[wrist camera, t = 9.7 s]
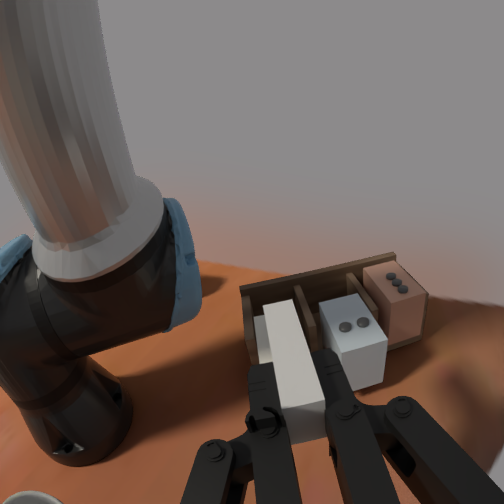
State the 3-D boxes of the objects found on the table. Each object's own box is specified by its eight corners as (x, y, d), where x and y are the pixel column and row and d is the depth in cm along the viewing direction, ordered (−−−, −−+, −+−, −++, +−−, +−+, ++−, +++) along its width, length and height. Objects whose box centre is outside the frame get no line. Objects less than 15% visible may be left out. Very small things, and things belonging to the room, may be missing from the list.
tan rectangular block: (419, 334, 31) (426, 290, 28) (387, 345, 31) (391, 300, 28) (392, 299, 38) (393, 258, 36) (363, 307, 38) (362, 265, 36)
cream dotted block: (315, 401, 27) (311, 358, 24) (271, 410, 27) (259, 369, 24) (300, 349, 34) (294, 305, 32) (263, 356, 34) (252, 314, 32)
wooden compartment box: (421, 339, 33) (429, 286, 30) (257, 383, 33) (242, 333, 30) (391, 300, 42) (392, 251, 38) (251, 334, 42) (239, 286, 39)
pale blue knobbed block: (382, 381, 27) (388, 336, 24) (341, 394, 27) (341, 350, 24) (357, 334, 34) (357, 290, 31) (322, 343, 34) (318, 300, 31)
